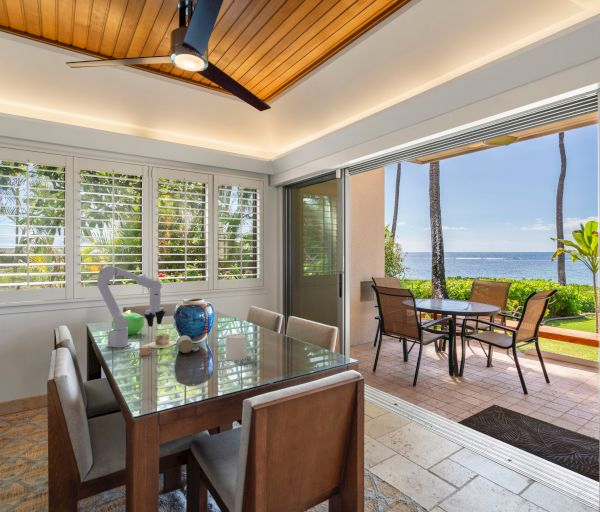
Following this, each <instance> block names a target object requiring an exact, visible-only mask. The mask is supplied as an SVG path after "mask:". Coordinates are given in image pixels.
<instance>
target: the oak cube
mask: <svg viewBox="0 0 600 512" xmlns="http://www.w3.org/2000/svg"><path fill="white" fill-rule="evenodd" d="M154 336H155V345H165V344H168V343H169V341H170V334H169V333H158V334H155V335H154Z"/></svg>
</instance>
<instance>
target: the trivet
mask: <svg viewBox="0 0 600 512" xmlns="http://www.w3.org/2000/svg"><path fill="white" fill-rule="evenodd" d="M176 342H177V340H176V341H175V340H169V343H168V344H165V345H155V341H152V342H149V343H146V344H144V345H142V346H151V349H160V348H164V349H163V350H166V349H169V348H171V347H173V346H175V345H174V344H176ZM172 345H173V346H172ZM170 346H171V347H170ZM168 347H169V348H168ZM165 348H166V349H165Z"/></svg>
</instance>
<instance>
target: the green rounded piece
mask: <svg viewBox="0 0 600 512" xmlns="http://www.w3.org/2000/svg"><path fill="white" fill-rule="evenodd" d="M121 314H122V315H123V317H124V318H125V319H126V320H127V321H128V326H127V328H128V336H131V335H135V334H138V333H139V332H141V330H143V328H144V326H145V319H146V317H145V316H143V315H141V314H140V313H137V312H133V311H132V310H130V309H128V310H126V311H124V312H121ZM114 327H115V325H114V324H113V320H112V322H111V329H113V328H114Z"/></svg>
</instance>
